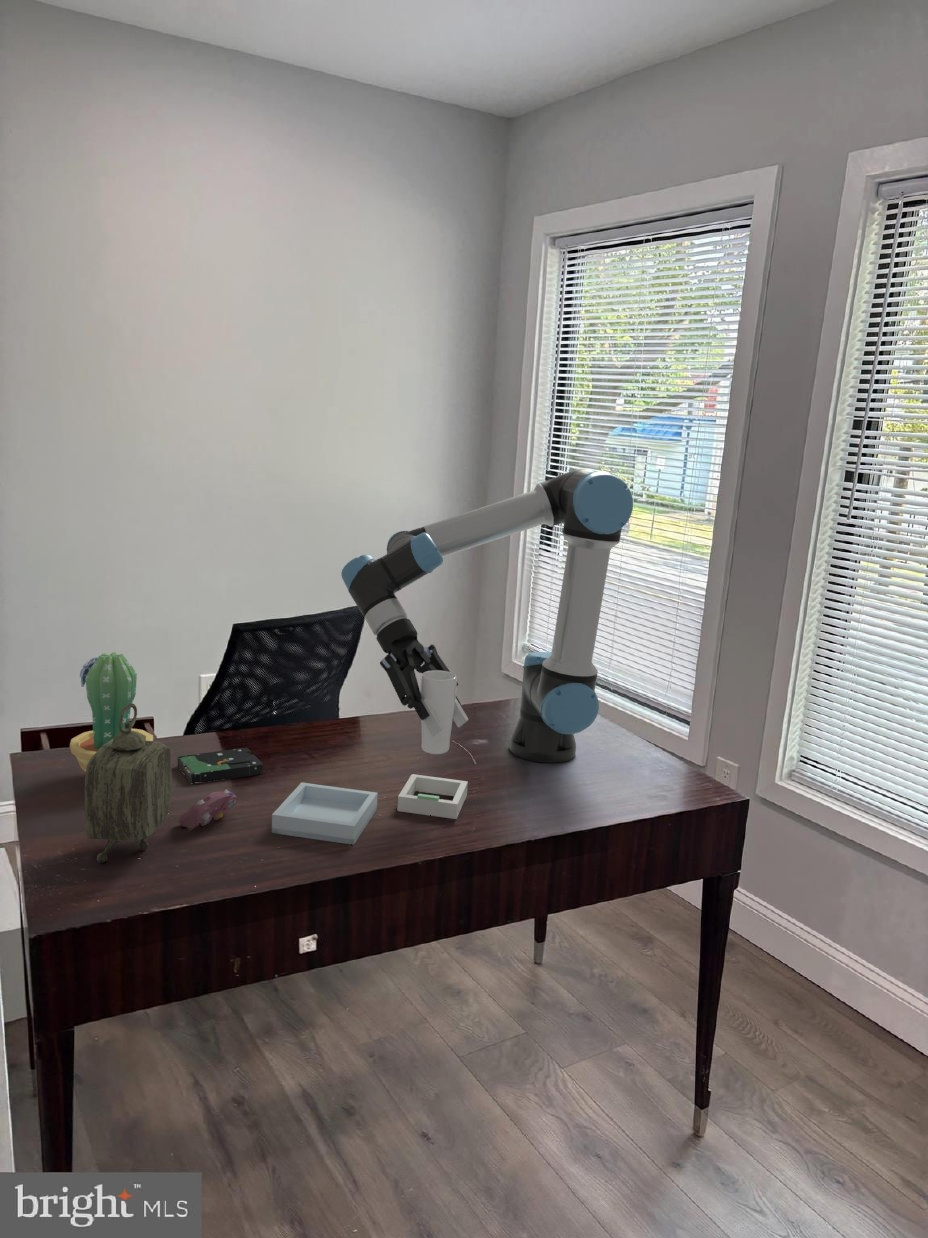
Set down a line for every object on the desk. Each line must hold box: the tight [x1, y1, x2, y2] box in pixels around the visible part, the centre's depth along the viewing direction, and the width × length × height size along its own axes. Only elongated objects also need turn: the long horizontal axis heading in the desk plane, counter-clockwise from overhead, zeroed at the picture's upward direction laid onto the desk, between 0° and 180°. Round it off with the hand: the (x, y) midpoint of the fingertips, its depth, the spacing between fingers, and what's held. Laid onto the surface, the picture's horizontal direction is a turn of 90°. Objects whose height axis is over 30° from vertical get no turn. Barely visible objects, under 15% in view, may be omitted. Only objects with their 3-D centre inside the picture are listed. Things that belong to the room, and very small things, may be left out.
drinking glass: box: [419, 670, 458, 755], centre depth 175 cm, size 7×7×15 cm
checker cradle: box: [396, 773, 469, 820], centre depth 179 cm, size 11×11×4 cm
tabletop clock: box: [84, 702, 172, 864], centre depth 151 cm, size 14×9×25 cm, turn 178°
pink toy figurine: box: [178, 788, 239, 828], centre depth 165 cm, size 10×5×7 cm, turn 149°
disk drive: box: [177, 747, 264, 784], centre depth 188 cm, size 10×3×15 cm
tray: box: [271, 782, 379, 846], centre depth 168 cm, size 15×15×4 cm
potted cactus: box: [69, 652, 154, 774], centre depth 177 cm, size 15×15×25 cm
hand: (450, 727), depth 173 cm, fingers closed on drinking glass, 7 cm apart
